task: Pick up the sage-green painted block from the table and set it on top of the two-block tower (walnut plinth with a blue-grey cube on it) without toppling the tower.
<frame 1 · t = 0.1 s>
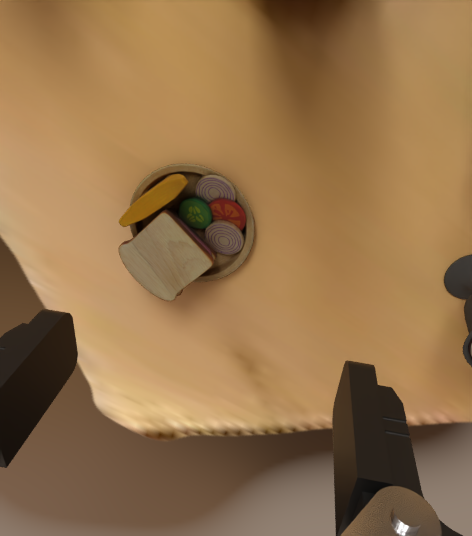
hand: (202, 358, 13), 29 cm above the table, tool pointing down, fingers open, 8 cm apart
sundae: (471, 276, 41), on the table
toy sandwich meal: (192, 227, 44), on the table
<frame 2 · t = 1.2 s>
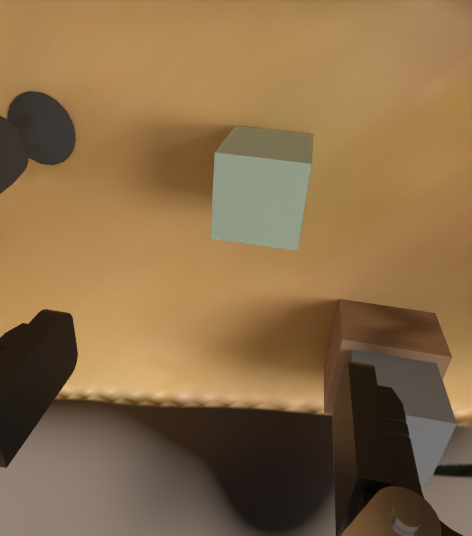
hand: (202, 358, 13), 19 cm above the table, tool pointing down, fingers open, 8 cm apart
block: (269, 168, 29), on the table
sundae: (43, 128, 31), on the table
plinth: (376, 341, 35), on the table, touching cube
cube: (383, 386, 30), point 5 cm above the table, touching plinth
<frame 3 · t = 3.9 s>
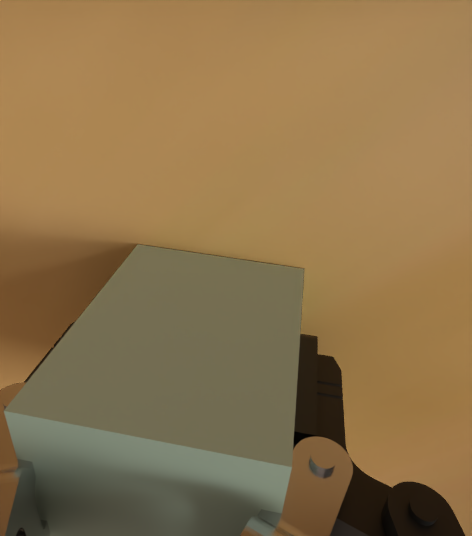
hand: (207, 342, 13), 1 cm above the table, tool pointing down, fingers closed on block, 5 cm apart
block: (215, 323, 14), on the table, touching gripper
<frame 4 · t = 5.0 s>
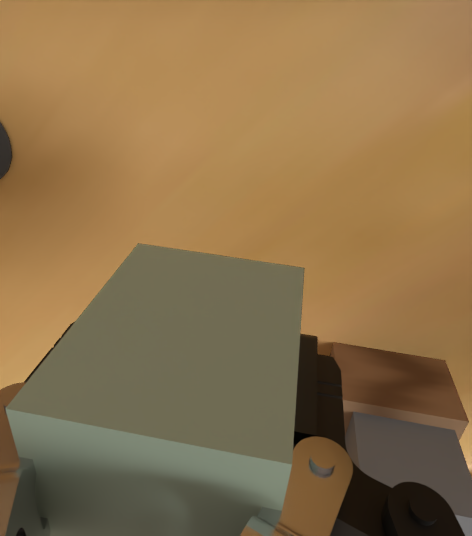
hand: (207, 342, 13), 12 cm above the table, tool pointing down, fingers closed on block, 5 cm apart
block: (215, 322, 14), point 11 cm above the table, touching gripper
plinth: (374, 388, 30), on the table
cube: (389, 452, 25), point 5 cm above the table
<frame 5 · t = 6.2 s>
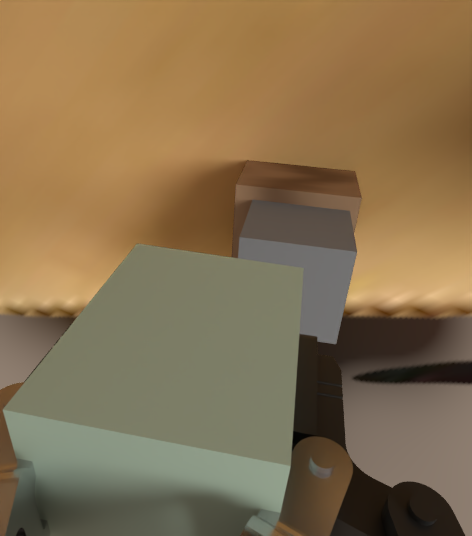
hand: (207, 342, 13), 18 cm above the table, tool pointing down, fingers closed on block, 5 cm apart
block: (214, 323, 14), point 17 cm above the table, touching gripper
plinth: (294, 214, 30), on the table, touching cube
cube: (294, 248, 26), point 5 cm above the table, touching plinth
when the fingers open (12 cm above the table, at t = 8.9 s): block stays where it is, resting on cube.
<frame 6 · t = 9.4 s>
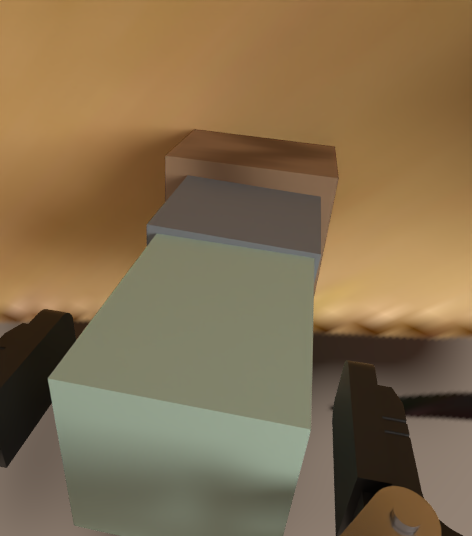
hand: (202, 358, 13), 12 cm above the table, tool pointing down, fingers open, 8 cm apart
block: (227, 310, 15), point 10 cm above the table, touching cube
plinth: (256, 203, 23), on the table, touching cube
cube: (245, 245, 19), point 5 cm above the table, touching block, plinth
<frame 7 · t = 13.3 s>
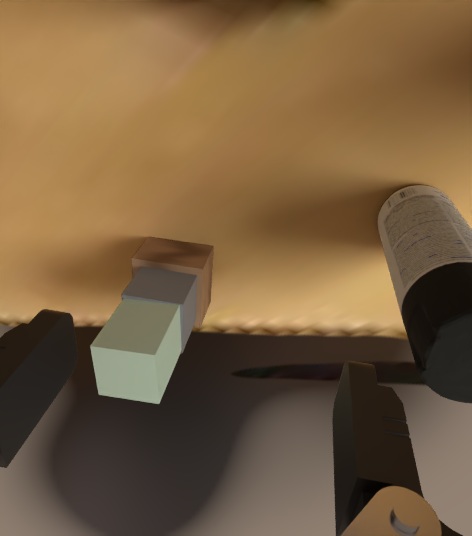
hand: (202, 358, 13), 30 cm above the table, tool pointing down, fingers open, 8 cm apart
block: (153, 324, 39), point 10 cm above the table, touching cube
plinth: (180, 269, 48), on the table, touching cube
cube: (169, 294, 43), point 5 cm above the table, touching block, plinth
spray can: (413, 215, 40), on the table
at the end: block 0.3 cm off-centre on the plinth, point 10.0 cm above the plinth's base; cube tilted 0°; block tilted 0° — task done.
